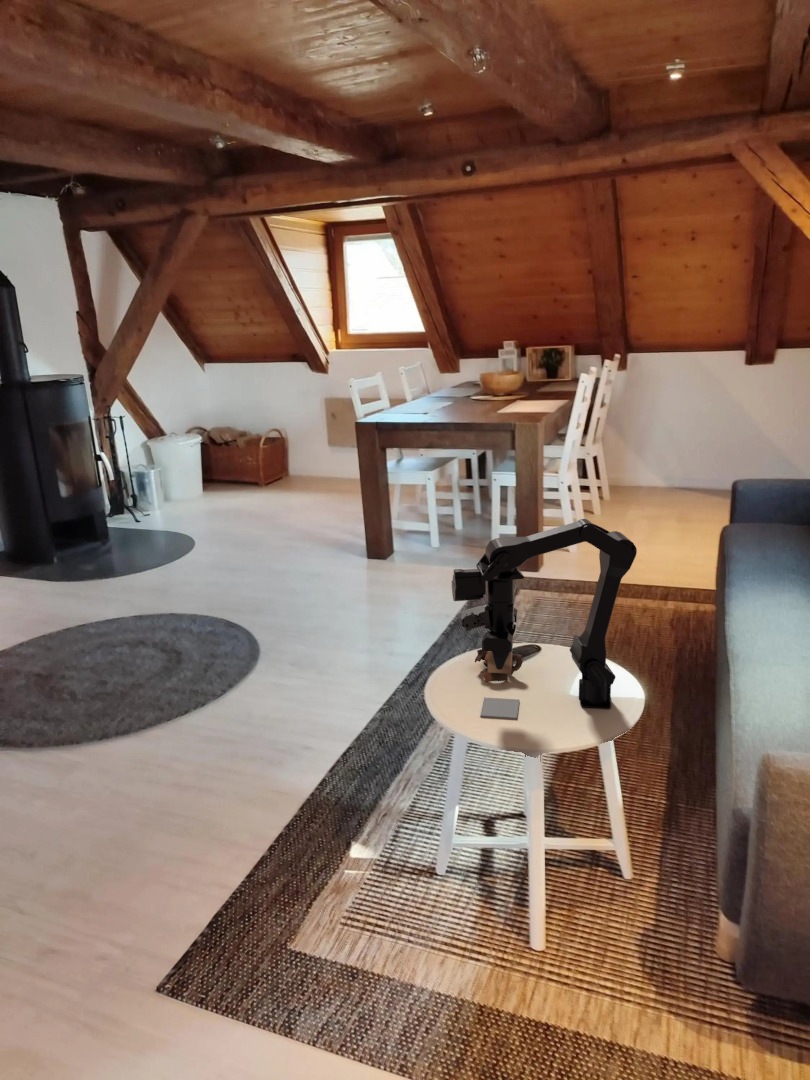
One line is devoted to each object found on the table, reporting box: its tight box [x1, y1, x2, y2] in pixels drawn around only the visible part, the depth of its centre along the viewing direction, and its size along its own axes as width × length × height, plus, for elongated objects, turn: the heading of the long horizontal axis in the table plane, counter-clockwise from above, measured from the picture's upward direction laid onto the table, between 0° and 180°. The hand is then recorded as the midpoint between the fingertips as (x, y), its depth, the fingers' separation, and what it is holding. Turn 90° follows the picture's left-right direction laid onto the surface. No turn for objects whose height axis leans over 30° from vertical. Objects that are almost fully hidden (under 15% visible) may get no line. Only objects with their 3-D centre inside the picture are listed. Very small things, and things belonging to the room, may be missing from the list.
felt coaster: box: [480, 696, 520, 720], centre depth 174 cm, size 8×8×1 cm
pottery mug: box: [474, 648, 524, 683], centre depth 189 cm, size 12×10×8 cm
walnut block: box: [487, 651, 513, 675], centre depth 170 cm, size 5×5×5 cm
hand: (500, 663), depth 171 cm, fingers closed on walnut block, 5 cm apart
